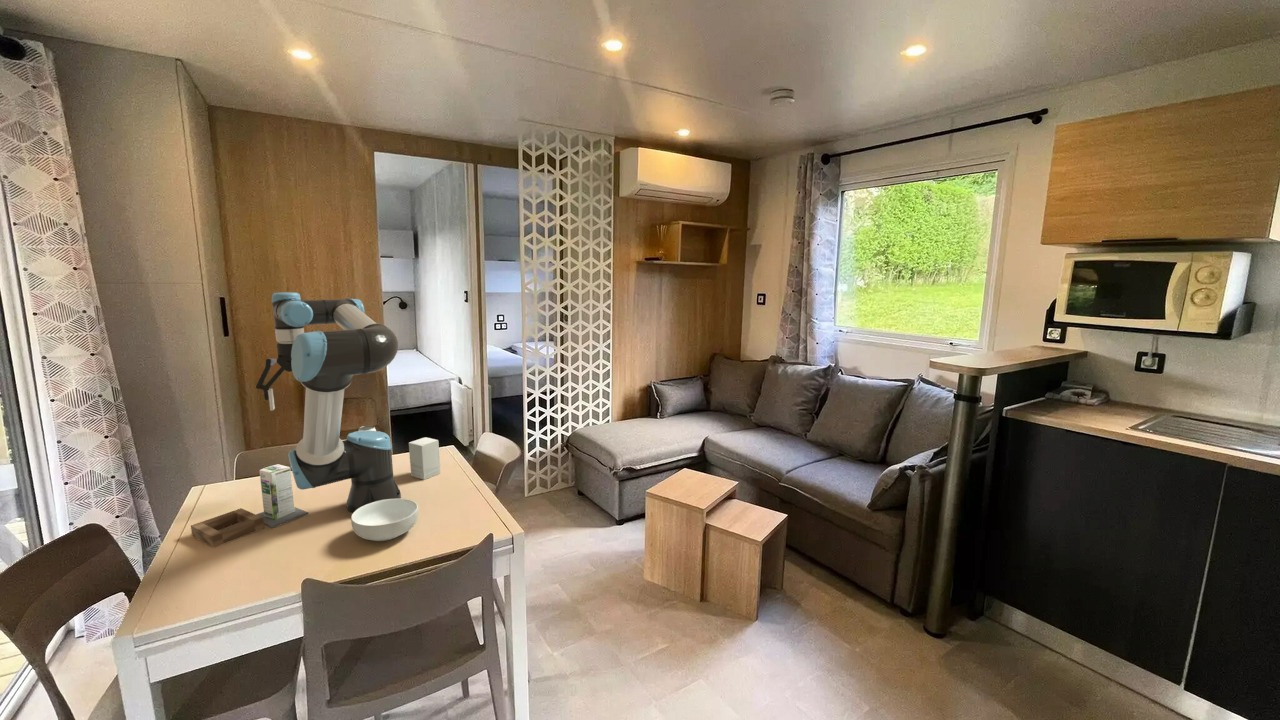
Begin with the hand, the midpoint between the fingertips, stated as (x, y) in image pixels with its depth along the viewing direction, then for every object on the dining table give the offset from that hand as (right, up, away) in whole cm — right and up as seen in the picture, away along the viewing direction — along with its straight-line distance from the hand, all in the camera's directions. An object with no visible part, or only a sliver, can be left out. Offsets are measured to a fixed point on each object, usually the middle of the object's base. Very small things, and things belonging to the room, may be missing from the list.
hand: (298, 407), depth 165 cm
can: (+4, -23, +37) cm, 43 cm away
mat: (+3, -31, -12) cm, 34 cm away
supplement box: (+33, -26, +20) cm, 46 cm away
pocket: (-5, -33, -22) cm, 40 cm away
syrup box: (+3, -31, -12) cm, 33 cm away
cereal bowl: (+40, -34, -22) cm, 56 cm away
